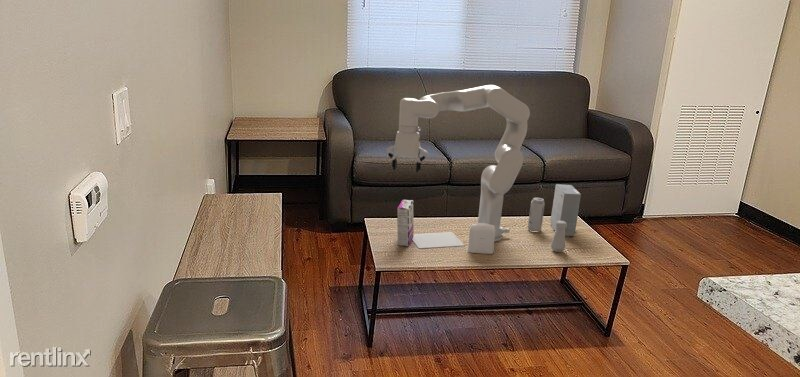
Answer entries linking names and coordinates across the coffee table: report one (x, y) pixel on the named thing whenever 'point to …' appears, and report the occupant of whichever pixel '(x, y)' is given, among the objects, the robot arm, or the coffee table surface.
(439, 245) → the mat
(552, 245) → the salt shaker
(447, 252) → the coffee table surface
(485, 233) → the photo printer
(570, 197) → the hard drive box
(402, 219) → the candy bar box
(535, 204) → the energy drink can
